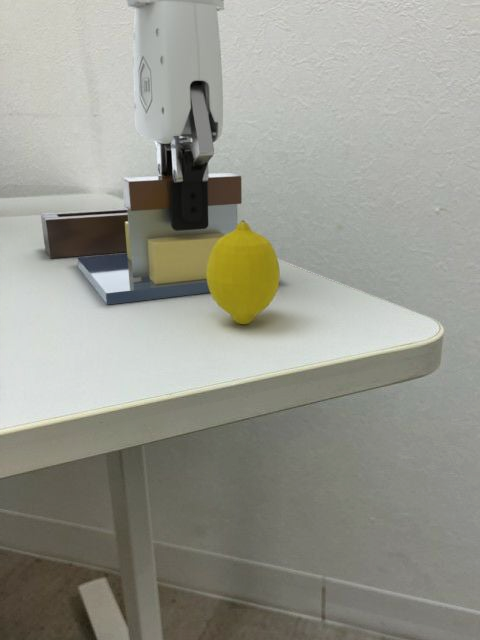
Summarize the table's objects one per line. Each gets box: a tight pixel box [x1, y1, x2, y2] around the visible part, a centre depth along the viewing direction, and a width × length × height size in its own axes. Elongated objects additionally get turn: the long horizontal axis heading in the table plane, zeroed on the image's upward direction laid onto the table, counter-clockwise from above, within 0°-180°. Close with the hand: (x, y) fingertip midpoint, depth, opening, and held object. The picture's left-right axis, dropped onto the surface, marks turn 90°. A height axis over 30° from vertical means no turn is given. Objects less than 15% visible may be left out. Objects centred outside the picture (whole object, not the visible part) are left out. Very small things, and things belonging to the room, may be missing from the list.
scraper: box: [121, 172, 243, 278], centre depth 59 cm, size 10×2×8 cm, turn 116°
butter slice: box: [147, 233, 225, 284], centre depth 59 cm, size 7×2×4 cm, turn 116°
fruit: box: [206, 219, 281, 325], centre depth 50 cm, size 6×6×8 cm
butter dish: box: [76, 252, 211, 306], centre depth 63 cm, size 16×13×1 cm
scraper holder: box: [40, 207, 128, 259], centre depth 72 cm, size 14×4×4 cm, turn 116°
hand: (184, 223), depth 59 cm, fingers closed on scraper, 2 cm apart
